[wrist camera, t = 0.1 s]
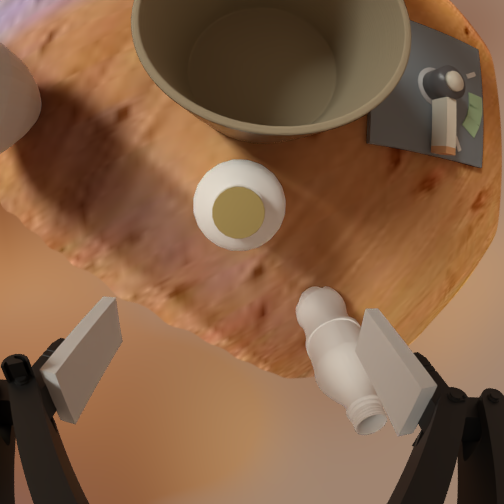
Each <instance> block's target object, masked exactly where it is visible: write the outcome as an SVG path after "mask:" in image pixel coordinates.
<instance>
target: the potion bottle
mask: <svg viewBox="0 0 504 504" xmlns="http://www.w3.org/2000/svg"><path fill="white" fill-rule="evenodd" d="M285 206H286V199H285V195H284V192H283V188H282V185H281V184H280V182H279V181H278V179H277V178H276V176H275V175H274V174H273V173H272V172H271V171H269V170H268V169H267V168H266V167H264V166H263V165H261V164H258V163H256V162H253V161H250V160H230V161H227V162H223V163H220V164H218V165H217V166H215V167H214V168H212V169H211V170H209V171H208V172H207V173H206V174H205V175H204V177H203V178H202V179H201V181H200V182H199V184H198V186H197V189H196V192H195V195H194V215H195V218H196V221H197V224H198V227H199V228H200V229H201V231H202V232H203V234H204V235H205V236H206V238H208V239H209V240H210V241H212V242H213V243H214V244H216V245H217V246H219V247H222V248H225V249H228V250H231V251H247V250H250V249H254V248H257V247H260V246H261V245H263V244H264V243H266V242H267V241H269V240H270V239H271V238H272V237H273V236H274V235H275V233H276V232H277V231H278V230H279V228H280V226H281V224H282V221H283V218H284V216H285Z"/></svg>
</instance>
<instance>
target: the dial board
mask: <svg viewBox="0 0 504 504" xmlns="http://www.w3.org/2000/svg"><path fill="white" fill-rule="evenodd" d="M410 25H411V51H410V56H409V60H408V63H407V67H406V69H405V71H404V74H403V76H402V78H401V79H400V81H399V83H398V84H397V86H396V87H395V89H394V90H393V91H392V92H391V94H390V95H389V96H388V97H387V98H386V99H385V100H384V101H383V102H382V103H381V104H380V105H378V106H377V107H376V108H375V109H373V110H372V111H370V112H369V113H368V122H367V143H368V144H374V145H380V146H386V147H391V148H397V149H402V150H407V151H412V152H417V153H422V154H426V155H431V156H435V157H439V158H444V159H448V160H452V161H456V162H460V163H463V164H467V165H471V166H474V167H478V168H482V155H483V95H482V80H481V68H480V59H479V51H478V49H476V48H474V47H472V46H470V45H468V44H466V43H464V42H462V41H460V40H458V39H455V38H453V37H451V36H449V35H446V34H444V33H442V32H439V31H437V30H435V29H432V28H429V27H427V26H424V25H422V24H419V23H416V22H413V21H411V20H410ZM446 65H450V66H453V67H454V68H456V69H457V70H458V71H459V72H460V73H461V75H462V77H463V79H464V81H465V87H466V89H465V93H464V95H463V96H462V97H461V98H458V99H455V100H456V152H455V155H439V154H435V153H431V139H432V99H431V98H429V96H428V95H427V94H426V92H425V90H424V88H423V77H424V75H425V74H426V73H427V72H430V71H432V70H435V69H437V68H440V67H443V66H446Z"/></svg>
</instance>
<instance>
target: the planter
mask: <svg viewBox="0 0 504 504" xmlns="http://www.w3.org/2000/svg"><path fill="white" fill-rule="evenodd" d="M131 29H132V37H133V42H134V46H135V49H136V52H137V55H138V57H139V59H140V61H141V63H142V65H143V67H144V69H145V70H146V72H147V73H148V75H149V76H150V78H151V79H152V80H153V81H154V82H155V84H156V85H157V86H158V87H159V88H160V89H161V90H162V91H163V92H164V93H165V94H166V95H168V96H169V97H170V98H171V99H172V100H174V101H175V102H176V103H178V104H179V105H180V106H182V107H183V108H184V109H186V110H187V111H188V112H190V113H191V114H193V115H194V116H195V117H197V118H198V119H199V120H201V121H203V122H204V123H206V124H207V125H209V126H210V127H212V128H214V129H215V130H217V131H218V132H220V133H222V134H224V135H226V136H228V137H231V138H234V139H236V140H240V141H244V142H249V143H257V144H271V143H279V142H284V141H289V140H294V139H298V138H303V137H306V136H310V135H313V134H317V133H320V132H324V131H327V130H331V129H334V128H337V127H340V126H343V125H346V124H348V123H350V122H353V121H355V120H357V119H359V118H361V117H362V116H364V115H366V114H367V113H369V112H370V111H372V110H373V109H375V108H376V107H377V106H378V105H380V104H381V103H382V102H383V101H384V100H385V99H386V98H387V97H388V96H389V95H390V94H391V92H392V91H393V90H394V89H395V87H396V86H397V84H398V83H399V81H400V79H401V78H402V76H403V74H404V71H405V69H406V67H407V63H408V60H409V56H410V51H411V25H410V19H409V15H408V11H407V8H406V5H405V3H404V0H134V3H133V8H132V16H131Z"/></svg>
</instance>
